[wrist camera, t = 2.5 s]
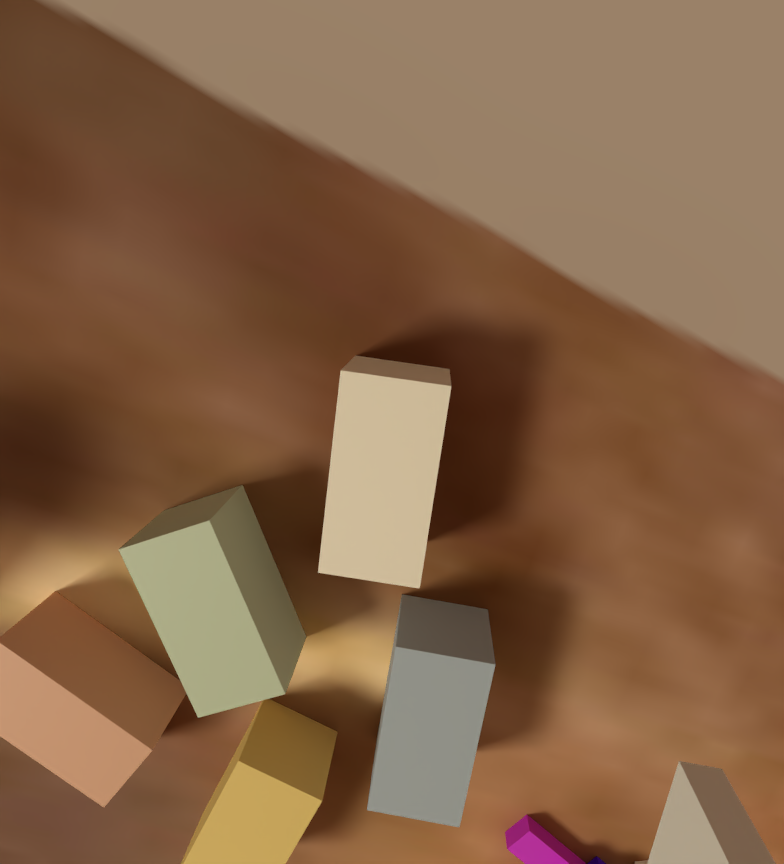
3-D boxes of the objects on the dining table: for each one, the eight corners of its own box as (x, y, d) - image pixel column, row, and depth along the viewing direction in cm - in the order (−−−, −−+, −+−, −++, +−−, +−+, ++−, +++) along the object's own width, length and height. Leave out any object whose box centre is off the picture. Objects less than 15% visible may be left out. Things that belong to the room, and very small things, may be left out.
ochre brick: (265, 694, 36) (238, 760, 31) (338, 730, 36) (322, 801, 31) (203, 810, 38) (169, 889, 33) (272, 843, 38) (248, 926, 33)
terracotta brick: (16, 645, 36) (-49, 702, 31) (57, 589, 35) (-4, 640, 30) (147, 737, 37) (103, 807, 32) (190, 686, 36) (152, 750, 31)
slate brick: (402, 592, 34) (395, 646, 29) (487, 608, 34) (495, 664, 29) (376, 737, 36) (366, 810, 31) (456, 752, 36) (459, 827, 31)
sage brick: (164, 509, 34) (118, 549, 29) (243, 483, 33) (209, 520, 28) (231, 656, 35) (198, 717, 31) (306, 635, 35) (285, 694, 30)
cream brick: (356, 355, 31) (340, 370, 26) (449, 368, 31) (451, 386, 26) (335, 528, 33) (317, 572, 28) (422, 542, 33) (419, 588, 28)
